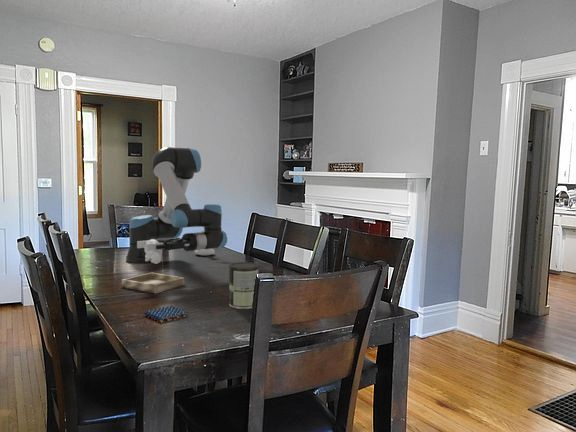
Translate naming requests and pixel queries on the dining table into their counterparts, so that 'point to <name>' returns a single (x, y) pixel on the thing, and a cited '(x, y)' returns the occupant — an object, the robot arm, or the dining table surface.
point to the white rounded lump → (152, 253)
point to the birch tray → (153, 282)
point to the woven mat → (166, 314)
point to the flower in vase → (204, 251)
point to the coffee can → (242, 284)
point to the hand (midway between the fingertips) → (142, 246)
